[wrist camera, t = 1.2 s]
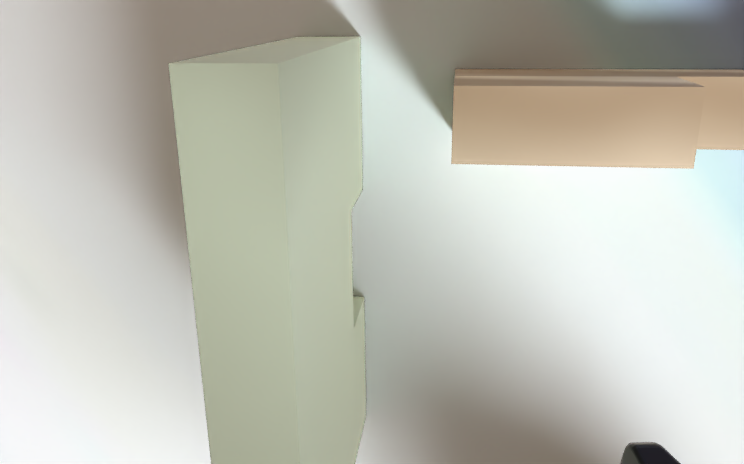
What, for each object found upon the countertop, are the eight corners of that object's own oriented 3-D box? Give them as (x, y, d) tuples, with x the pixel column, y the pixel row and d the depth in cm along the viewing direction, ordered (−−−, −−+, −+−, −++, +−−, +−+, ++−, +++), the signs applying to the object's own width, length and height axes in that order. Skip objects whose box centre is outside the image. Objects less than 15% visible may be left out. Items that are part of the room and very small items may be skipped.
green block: (366, 415, 25) (310, 656, 16) (315, 412, 26) (231, 647, 16) (360, 36, 21) (278, 63, 11) (298, 36, 21) (168, 63, 12)
